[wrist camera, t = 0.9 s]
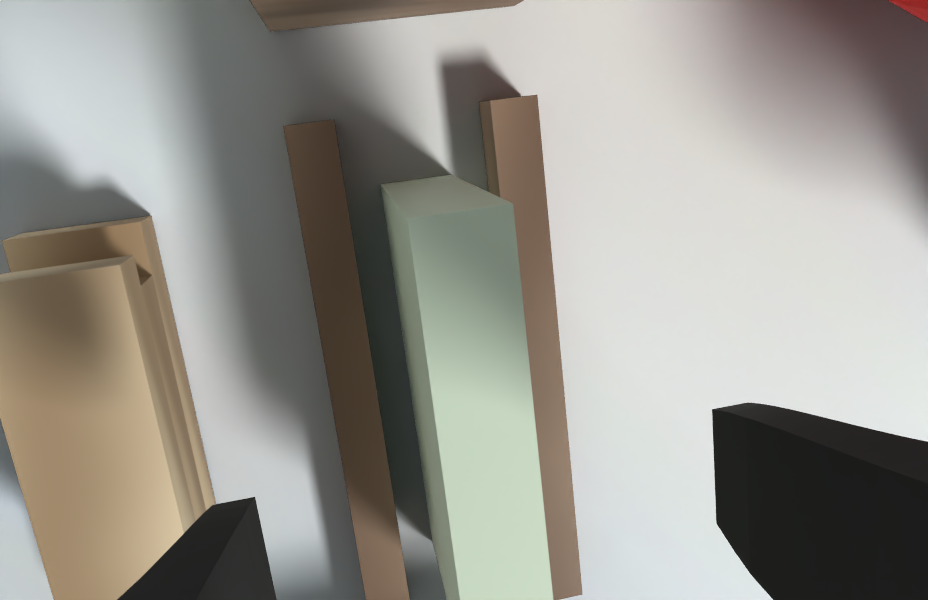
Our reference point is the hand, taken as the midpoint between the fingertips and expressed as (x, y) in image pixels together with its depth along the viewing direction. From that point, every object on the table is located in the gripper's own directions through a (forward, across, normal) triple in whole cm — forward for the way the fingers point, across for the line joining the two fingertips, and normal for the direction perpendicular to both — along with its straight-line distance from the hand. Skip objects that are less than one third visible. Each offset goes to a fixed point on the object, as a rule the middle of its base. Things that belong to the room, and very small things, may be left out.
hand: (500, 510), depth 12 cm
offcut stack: (+7, +7, 0) cm, 10 cm away
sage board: (+7, 0, 0) cm, 7 cm away
